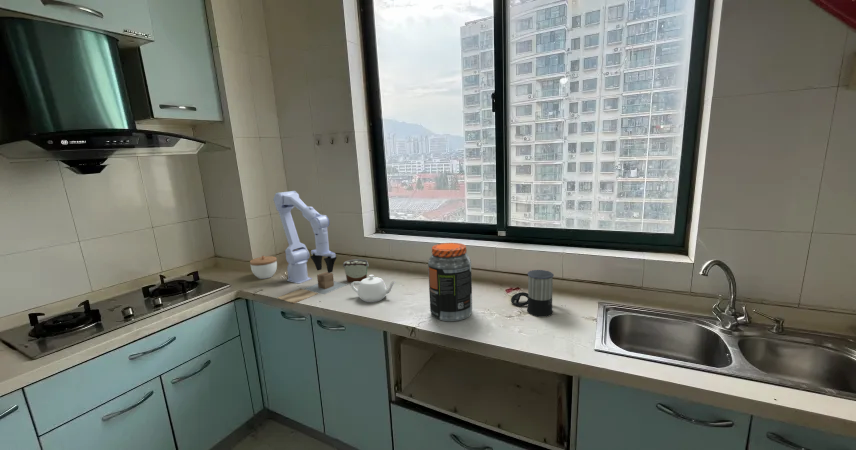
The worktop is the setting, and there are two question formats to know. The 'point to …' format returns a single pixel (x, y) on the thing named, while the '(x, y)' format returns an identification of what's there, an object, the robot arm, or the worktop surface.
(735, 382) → the worktop surface
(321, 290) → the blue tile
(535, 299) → the milk frother
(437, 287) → the supplement tub
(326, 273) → the walnut block
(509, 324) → the worktop surface
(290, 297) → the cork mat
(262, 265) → the lidded bowl
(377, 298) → the teapot
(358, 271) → the food container
